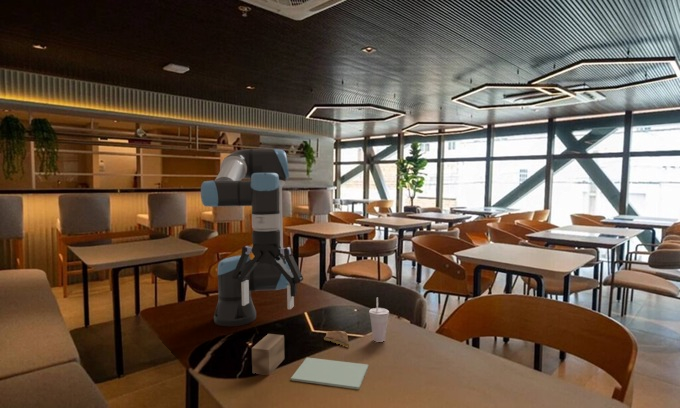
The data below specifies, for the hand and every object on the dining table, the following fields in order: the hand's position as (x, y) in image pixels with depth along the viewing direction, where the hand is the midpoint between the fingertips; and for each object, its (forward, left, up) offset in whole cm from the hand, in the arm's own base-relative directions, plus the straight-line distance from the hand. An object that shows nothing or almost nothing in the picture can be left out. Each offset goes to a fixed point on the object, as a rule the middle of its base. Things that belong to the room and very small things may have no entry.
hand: (267, 306), depth 107 cm
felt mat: (+18, 0, -17) cm, 25 cm away
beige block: (0, 0, -17) cm, 17 cm away
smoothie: (+27, +24, -17) cm, 40 cm away
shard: (+15, +22, -18) cm, 32 cm away
